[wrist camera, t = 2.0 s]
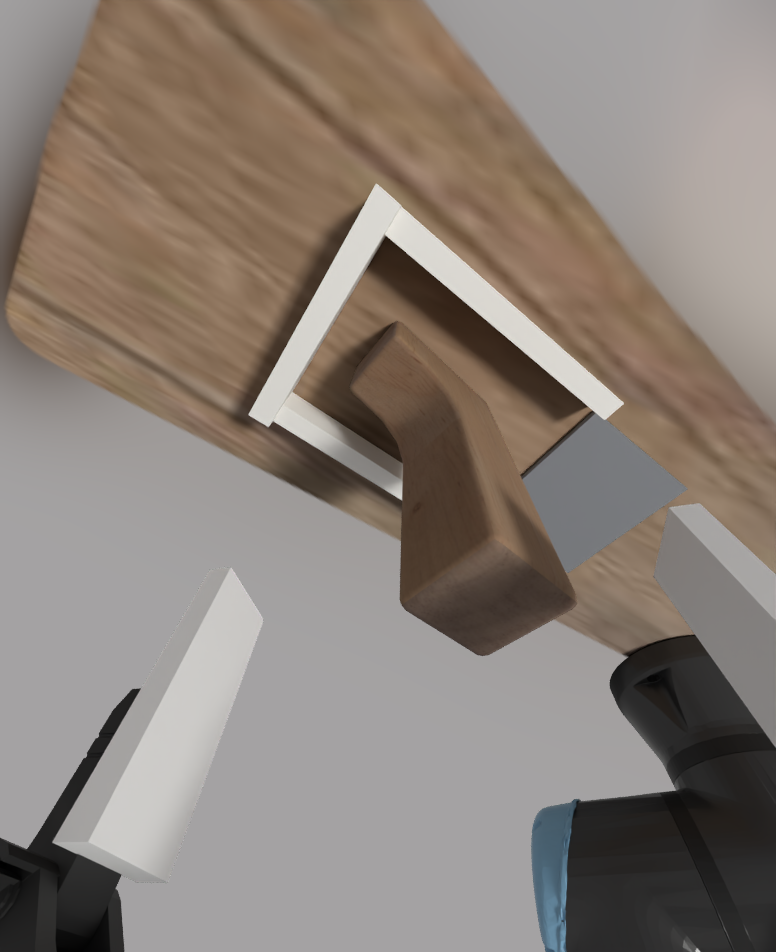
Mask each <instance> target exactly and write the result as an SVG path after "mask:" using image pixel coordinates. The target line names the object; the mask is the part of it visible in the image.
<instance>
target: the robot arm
mask: <svg viewBox="0 0 776 952" xmlns="http://www.w3.org/2000/svg"><path fill="white" fill-rule="evenodd" d="M654 578H655V579H656V581H657V582H658V583H659V585H660V586H661V588H662V589H663V590H664V592H665V593H666V595H667V596H668V597H669V599H670V600H671V602H672V603H673V604H674V606H675V607H676V609H677V610H678V611H679V613H680V614H681V616H682V617H683V618H684V620H685V621H686V623H687V624H688V625H689V627H690V628H691V630H692V631H693V632H694V634H695V635H696V636H690V637H682V638H676V639H671V640H667V641H663V642H660V643H657V644H654V645H651V646H649V647H646V648H644V649H642V650H640V651H638V652H636V653H635V654H633V655H631V656H630V657H628V658H627V659H626V660H624V661H623V662H622V663H621V664H620V665H619V666H618V667H617V668H616V669H615V671H614V672H613V674H612V676H611V679H610V689H611V691H612V694H613V696H614V698H615V701H616V703H617V705H618V707H619V709H620V710H621V712H622V713H623V715H624V716H625V717H626V718H627V720H628V721H629V722H630V723H631V724H632V726H633V727H634V728H635V729H636V731H637V732H638V733H639V734H640V736H641V737H642V738H643V739H644V740H645V742H646V743H647V744H648V745H649V747H650V748H651V749H652V750H653V751H654V753H655V754H656V755H657V756H658V758H659V759H660V760H661V761H662V763H663V765H664V767H665V769H666V771H667V772H668V775H669V777H670V779H671V781H672V783H673V785H674V787H675V789H676V791H669V792H661V793H651V794H643V795H636V796H628V797H618V798H609V799H599V800H591V801H581V800H579V799H574V800H573V801H572V802H571V803H566V804H560V805H555V806H550V807H546V808H543V809H542V810H541V811H539V813H538V814H537V816H536V818H535V820H534V824H533V829H532V843H531V852H532V871H533V883H534V892H535V900H536V907H537V914H538V921H539V927H540V932H541V937H542V941H543V943H544V945H545V951H546V952H776V574H775V573H774V572H772V571H771V570H770V569H769V568H768V567H767V566H766V565H765V564H764V563H763V562H762V561H761V560H760V559H759V558H757V557H756V556H755V555H754V554H753V553H752V552H751V551H750V550H749V549H748V548H747V547H746V546H745V545H744V544H742V543H741V542H740V541H739V540H738V539H737V538H736V537H735V536H734V535H733V534H732V533H731V532H730V531H729V530H727V529H726V528H725V527H724V526H723V525H722V524H721V523H720V522H719V521H718V520H717V519H716V518H715V517H714V516H712V515H711V514H710V513H709V512H708V511H707V510H706V509H705V508H704V507H703V506H702V505H701V504H700V503H698V504H691V505H683V506H676V507H669V508H668V513H667V517H666V522H665V527H664V531H663V536H662V540H661V545H660V549H659V554H658V559H657V563H656V568H655V572H654ZM262 623H263V618H262V616H261V615H260V613H259V612H258V610H257V608H256V607H255V605H254V604H253V602H252V600H251V598H250V597H249V595H248V594H247V592H246V590H245V589H244V587H243V586H242V584H241V582H240V581H239V579H238V577H237V576H236V574H235V573H234V571H233V569H232V568H231V567H227V568H219V569H212V570H209V572H208V574H207V576H206V578H205V579H204V581H203V583H202V584H201V586H200V588H199V589H198V591H197V593H196V594H195V596H194V598H193V600H192V602H191V603H190V605H189V607H188V608H187V610H186V612H185V614H184V615H183V617H182V619H181V621H180V622H179V624H178V626H177V627H176V629H175V631H174V632H173V634H172V636H171V638H170V640H169V641H168V643H167V645H166V646H165V648H164V650H163V652H162V653H161V655H160V657H159V659H158V660H157V662H156V664H155V665H154V667H153V669H152V671H151V672H150V674H149V676H148V678H147V679H146V681H145V683H144V685H143V686H142V688H141V689H132V690H131V691H130V692H129V693H128V694H127V696H126V697H125V698H124V699H123V700H122V701H121V702H120V703H119V704H118V705H117V706H116V708H115V709H114V710H113V711H112V713H111V715H110V716H109V718H108V720H107V721H106V723H105V724H104V726H103V728H102V729H101V731H100V733H99V737H98V738H96V739H95V741H94V742H93V744H92V746H91V747H90V749H89V751H88V752H87V757H86V758H84V759H83V760H82V762H81V764H80V765H79V767H78V769H77V770H76V772H75V773H74V775H73V777H72V779H71V780H70V782H69V783H68V785H67V787H66V788H65V790H64V792H63V793H62V795H61V796H60V798H59V800H58V801H57V803H56V805H55V806H54V808H53V810H52V811H51V813H50V814H49V816H48V818H47V819H46V821H45V823H44V824H43V826H42V828H41V829H40V831H39V832H38V834H37V835H36V837H35V839H34V840H33V842H32V843H31V845H30V846H29V847H28V849H25V848H22V847H20V846H18V845H15V844H13V843H11V842H9V841H6V840H4V839H1V838H0V952H124V941H123V927H122V913H121V900H120V897H119V894H118V891H117V890H116V889H115V888H116V886H117V884H118V882H119V879H120V877H121V875H122V876H124V877H126V878H128V879H130V880H133V881H135V882H137V883H139V882H140V883H144V882H145V883H146V882H147V883H148V882H149V883H154V882H156V883H159V882H160V883H166V882H168V880H169V878H170V875H171V872H172V870H173V866H174V864H175V861H176V859H177V856H178V853H179V850H180V847H181V845H182V842H183V839H184V837H185V834H186V831H187V829H188V826H189V823H190V820H191V818H192V815H193V812H194V809H195V807H196V804H197V801H198V798H199V795H200V793H201V790H202V788H203V785H204V782H205V779H206V777H207V774H208V771H209V768H210V766H211V763H212V760H213V757H214V754H215V752H216V749H217V746H218V744H219V741H220V738H221V735H222V733H223V730H224V727H225V725H226V722H227V719H228V716H229V714H230V710H231V708H232V705H233V703H234V700H235V697H236V694H237V691H238V689H239V686H240V684H241V681H242V678H243V675H244V673H245V670H246V667H247V664H248V662H249V659H250V656H251V653H252V650H253V648H254V645H255V642H256V640H257V637H258V634H259V631H260V629H261V626H262Z"/></svg>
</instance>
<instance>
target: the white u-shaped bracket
mask: <svg viewBox="0 0 776 952" xmlns="http://www.w3.org/2000/svg"><path fill="white" fill-rule="evenodd" d="M386 236H387V237H388V238H389V239H391V240H392V241H393V242H394V243H395V244H396V245H398V246H399V247H400V248H401V249H402V250H404V251H405V252H406V253H407V254H408V255H409V256H411V257H412V258H413V259H414V260H415V261H417V262H418V263H419V264H420V265H421V266H423V267H424V268H425V269H426V270H427V271H428V272H430V273H431V274H432V275H433V276H434V277H436V278H437V279H438V280H439V281H440V282H441V283H443V284H444V285H445V286H446V287H447V288H449V289H450V290H451V291H452V292H453V293H454V294H456V295H457V296H458V297H459V298H460V299H462V300H463V301H464V302H465V303H466V304H467V305H469V306H470V307H471V308H472V309H473V310H475V311H476V312H477V313H478V314H479V315H481V316H482V317H483V318H484V319H485V320H486V321H488V322H489V323H490V324H491V325H492V326H494V327H495V328H496V329H497V330H498V331H499V332H501V333H502V334H503V335H504V336H505V337H507V338H508V339H509V340H510V341H511V342H512V343H514V344H515V345H516V346H517V347H518V348H520V349H521V350H522V351H523V352H524V353H525V354H527V355H528V356H529V357H530V358H531V359H533V360H534V361H535V362H536V363H537V364H539V365H540V366H541V367H542V368H543V369H544V370H546V371H547V372H548V373H549V374H550V375H552V376H553V377H554V378H555V379H556V380H557V381H559V382H560V383H561V384H562V385H563V386H565V387H566V388H567V389H568V390H569V391H570V392H572V393H573V394H574V395H575V396H576V397H578V398H579V399H580V400H581V401H582V402H583V403H585V404H586V405H587V406H588V407H589V408H591V409H592V410H593V411H594V412H595V413H597V414H598V415H599V416H600V417H601V418H602V419H604V420H606V419H607V418H608V417H609V416H610V415H611V414H612V413H614V412H615V411H616V410H617V409H618V408H619V407H620V406H622V405H623V404H624V403H623V402H622V401H621V400H620V399H619V398H618V397H616V396H615V395H614V394H613V393H612V392H611V391H610V390H609V389H607V388H606V387H605V386H604V385H603V384H602V383H601V382H599V381H598V380H597V379H596V378H595V377H594V376H593V375H592V374H590V373H589V372H588V371H587V370H586V369H585V368H584V367H582V366H581V365H580V364H579V363H578V362H577V361H576V360H575V359H573V358H572V357H571V356H570V355H569V354H568V353H567V352H565V351H564V350H563V349H562V348H561V347H560V346H559V345H558V344H556V343H555V342H554V341H553V340H552V339H551V338H550V337H548V336H547V335H546V334H545V333H544V332H543V331H542V330H541V329H539V328H538V327H537V326H536V325H535V324H534V323H533V322H532V321H530V320H529V319H528V318H527V317H526V316H525V315H524V314H522V313H521V312H520V311H519V310H518V309H517V308H516V307H515V306H513V305H512V304H511V303H510V302H509V301H508V300H507V299H505V298H504V297H503V296H502V295H501V294H500V293H499V292H498V291H496V290H495V289H494V288H493V287H492V286H491V285H490V284H488V283H487V282H486V281H485V280H484V279H483V278H482V277H481V276H479V275H478V274H477V273H476V272H475V271H474V270H473V269H471V268H470V267H469V266H468V265H467V264H466V263H465V262H464V261H462V260H461V259H460V258H459V257H458V256H457V255H456V254H455V253H453V252H452V251H451V250H450V249H449V248H448V247H447V246H445V245H444V244H443V243H442V242H441V241H440V240H439V239H438V238H436V237H435V236H434V235H433V234H432V233H431V232H430V231H428V230H427V229H426V228H425V227H424V226H423V225H422V224H421V223H419V222H418V221H417V220H416V219H415V218H414V217H413V216H411V215H410V214H409V213H408V212H407V211H406V210H405V209H404V208H402V207H401V205H400V204H399V203H398V202H397V201H396V200H395V199H393V198H392V197H391V196H390V195H389V194H388V193H387V192H386V191H384V190H383V189H382V188H381V187H380V186H379V185H378V184H376V185H375V187H374V188H373V190H372V192H371V194H370V196H369V197H368V199H367V201H366V203H365V205H364V206H363V208H362V210H361V212H360V214H359V216H358V217H357V219H356V221H355V223H354V225H353V226H352V228H351V230H350V232H349V234H348V235H347V237H346V239H345V241H344V243H343V244H342V246H341V248H340V250H339V252H338V253H337V255H336V257H335V259H334V261H333V263H332V264H331V266H330V268H329V270H328V272H327V273H326V275H325V277H324V279H323V281H322V282H321V284H320V286H319V288H318V290H317V291H316V293H315V295H314V297H313V299H312V301H311V302H310V304H309V306H308V308H307V310H306V311H305V313H304V315H303V317H302V319H301V320H300V322H299V324H298V326H297V328H296V329H295V331H294V333H293V335H292V337H291V339H290V340H289V342H288V344H287V346H286V348H285V349H284V351H283V353H282V355H281V357H280V358H279V360H278V362H277V364H276V366H275V367H274V369H273V371H272V373H271V375H270V376H269V378H268V380H267V382H266V384H265V386H264V387H263V389H262V391H261V393H260V395H259V396H258V398H257V400H256V402H255V404H254V405H253V407H252V409H251V411H250V413H249V414H248V415H249V416H251V417H253V418H254V419H256V420H258V421H259V422H261V423H262V424H264V425H266V426H267V427H269V426H270V425H271V423H272V422H273V421H274V422H275V423H277V424H279V425H280V426H282V427H283V428H285V429H287V430H288V431H290V432H292V433H293V434H295V435H296V436H298V437H300V438H301V439H303V440H305V441H306V442H308V443H309V444H311V445H313V446H314V447H316V448H318V449H319V450H321V451H322V452H324V453H326V454H327V455H329V456H331V457H332V458H334V459H335V460H337V461H339V462H340V463H342V464H344V465H345V466H347V467H348V468H350V469H352V470H353V471H355V472H357V473H358V474H360V475H361V476H363V477H365V478H366V479H368V480H370V481H371V482H373V483H374V484H376V485H378V486H379V487H381V488H383V489H384V490H386V491H387V492H389V493H391V494H392V495H394V496H396V497H397V498H399V499H400V500H402V484H403V464H402V463H401V462H399V461H398V460H396V459H395V458H393V457H392V456H390V455H389V454H387V453H385V452H384V451H382V450H381V449H379V448H378V447H376V446H375V445H373V444H372V443H370V442H368V441H367V440H365V439H364V438H362V437H361V436H359V435H358V434H356V433H355V432H353V431H352V430H350V429H348V428H347V427H345V426H344V425H342V424H341V423H339V422H338V421H336V420H335V419H333V418H332V417H330V416H328V415H327V414H325V413H324V412H322V411H321V410H319V409H318V408H316V407H315V406H313V405H312V404H310V403H308V402H307V401H305V400H304V399H302V398H301V397H299V396H298V395H296V394H295V393H293V390H294V388H295V387H296V385H297V384H298V382H299V380H300V379H301V377H302V375H303V374H304V372H305V370H306V369H307V367H308V365H309V364H310V362H311V360H312V359H313V357H314V355H315V354H316V352H317V350H318V349H319V347H320V345H321V344H322V342H323V340H324V339H325V337H326V335H327V334H328V332H329V330H330V329H331V327H332V325H333V324H334V322H335V320H336V319H337V317H338V315H339V314H340V312H341V310H342V309H343V307H344V305H345V304H346V302H347V300H348V299H349V297H350V295H351V294H352V292H353V290H354V289H355V287H356V285H357V284H358V282H359V280H360V279H361V277H362V275H363V274H364V272H365V270H366V269H367V267H368V265H369V264H370V262H371V261H372V259H373V257H374V256H375V254H376V252H377V251H378V249H379V247H380V246H381V244H382V242H383V241H384V239H385V237H386Z"/></svg>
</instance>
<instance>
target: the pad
mask: <svg viewBox="0 0 776 952" xmlns="http://www.w3.org/2000/svg"><path fill="white" fill-rule="evenodd" d="M521 478H522V480H523V482H524V484H525V487H526V489H527V491H528V493H529V495H530V497H531V499H532V502H533V504H534V506H535V508H536V510H537V512H538V514H539V517H540V519H541V521H542V523H543V525H544V527H545V529H546V532H547V534H548V536H549V538H550V540H551V542H552V544H553V546H554V549H555V551H556V553H557V555H558V557H559V559H560V561H561V564H562V566H563V568H564V570H565V571H566V572H567V573H569V572H570V571H571V570H573V569H574V568H576V567H577V566H579V565H580V564H582V563H583V562H584V561H586V560H587V559H589V558H590V557H592V556H593V555H594V554H596V553H597V552H599V551H600V550H602V549H603V548H604V547H606V546H607V545H609V544H610V543H612V542H613V541H614V540H616V539H617V538H619V537H620V536H622V535H623V534H624V533H626V532H627V531H629V530H630V529H632V528H633V527H634V526H636V525H637V524H639V523H640V522H642V521H643V520H644V519H646V518H647V517H649V516H650V515H652V514H653V513H654V512H656V511H657V510H659V509H660V508H662V507H663V506H664V505H666V504H667V503H669V502H670V501H672V500H673V499H674V498H676V497H677V496H679V495H680V494H682V493H683V492H684V491H686V490H687V488H686V487H685V486H684V485H683V484H681V483H680V482H679V481H678V480H677V479H676V478H674V477H673V476H672V475H671V474H670V473H668V472H667V471H666V470H665V469H664V468H663V467H661V466H660V465H659V464H658V463H657V462H656V461H654V460H653V459H652V458H651V457H650V456H648V455H647V454H646V453H645V452H644V451H643V450H641V449H640V448H639V447H638V446H637V445H635V444H634V443H633V442H632V441H631V440H630V439H628V438H627V437H626V436H625V435H624V434H622V433H621V432H620V431H619V430H618V429H617V428H615V427H614V426H613V425H612V424H611V423H609V422H608V421H607V420H604V419H602V418H601V417H600V416H599V415H598V414H597V413H595V412H594V411H593V412H592V413H591V414H590V415H589V416H587V417H586V418H585V419H584V420H583V421H582V422H581V423H580V424H579V425H578V426H576V427H575V428H574V429H573V430H572V431H571V432H570V433H569V434H568V435H567V436H565V437H564V438H563V439H562V440H561V441H560V442H559V443H558V444H557V445H555V446H554V447H553V448H552V449H551V450H550V451H549V452H548V453H547V454H546V455H544V456H543V457H542V458H541V459H540V460H539V461H538V462H537V463H536V464H535V465H533V466H532V467H531V468H530V469H529V470H528V471H527V472H526V473H525V474H524V475H522V476H521Z"/></svg>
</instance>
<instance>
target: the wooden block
mask: <svg viewBox="0 0 776 952" xmlns="http://www.w3.org/2000/svg"><path fill="white" fill-rule="evenodd" d="M349 388H350V390H351V392H352V393H353V394H354V395H355V396H356V397H357V398H358V399H359V400H360V401H361V402H363V403H364V404H365V405H366V406H367V407H368V408H369V409H370V410H371V411H372V412H373V413H374V414H376V415H377V416H378V417H379V418H380V419H381V420H382V421H383V423H384V424H385V426H386V427H387V429H388V430H389V432H390V433H391V435H392V436H393V438H394V439H395V440H396V442H397V444H398V448H399V451H400V455H401V458H402V462H403V484H402V526H401V569H400V570H401V571H400V602H401V604H402V606H403V607H404V609H405V610H406V611H408V612H409V613H411V614H413V615H414V616H416V617H417V618H419V619H421V620H422V621H424V622H425V623H427V624H429V625H430V626H432V627H433V628H435V629H437V630H438V631H440V632H442V633H443V634H445V635H446V636H448V637H449V638H451V639H453V640H454V641H456V642H457V643H459V644H461V645H462V646H464V647H466V648H467V649H469V650H470V651H472V652H474V653H475V654H477V655H481V656H485V655H489V654H491V653H493V652H495V651H496V650H499V649H501V648H502V647H504V646H506V645H508V644H510V643H511V642H513V641H515V640H517V639H519V638H521V637H522V636H524V635H526V634H528V633H530V632H531V631H533V630H535V629H537V628H539V627H541V626H542V625H544V624H546V623H548V622H550V621H552V620H553V619H555V618H557V617H559V616H561V615H563V614H564V613H566V612H568V611H570V610H572V609H573V608H574V607H575V606H576V604H577V597H576V594H575V591H574V589H573V587H572V585H571V583H570V581H569V579H568V576H567V574H566V572H565V570H564V568H563V566H562V564H561V561H560V559H559V557H558V555H557V553H556V551H555V549H554V546H553V544H552V542H551V540H550V538H549V536H548V534H547V532H546V529H545V527H544V525H543V523H542V521H541V519H540V517H539V514H538V512H537V510H536V508H535V506H534V504H533V502H532V499H531V497H530V495H529V493H528V491H527V489H526V487H525V484H524V482H523V480H522V478H521V476H520V474H519V472H518V470H517V467H516V465H515V463H514V461H513V459H512V457H511V454H510V452H509V450H508V448H507V446H506V443H505V441H504V439H503V437H502V435H501V433H500V430H499V428H498V426H497V424H496V422H495V420H494V418H493V416H492V414H491V412H490V410H489V407H488V405H487V403H486V402H485V401H484V400H483V399H482V398H481V397H480V396H479V395H477V394H476V393H475V392H474V391H473V390H472V389H471V388H470V387H469V386H468V385H467V384H466V383H465V382H464V381H463V380H462V379H461V378H460V377H458V376H457V375H456V374H455V373H454V372H453V371H452V370H451V369H450V368H449V367H448V366H447V365H446V364H445V363H444V362H443V361H442V360H441V359H439V358H438V357H437V356H436V355H435V354H434V353H433V352H432V351H431V350H430V349H429V348H428V347H427V346H426V345H425V344H424V343H423V342H422V341H420V340H419V339H418V338H417V337H416V336H415V335H414V334H413V333H412V332H411V331H410V330H409V329H408V328H407V327H406V326H405V325H404V324H403V323H401V322H398V321H396V322H394V323H393V324H392V325H391V326H390V327H389V329H388V330H387V331H386V332H385V333H384V335H383V336H382V337H381V338H380V339H379V341H378V342H377V343H376V344H375V345H374V347H373V348H372V349H371V350H370V351H369V353H368V354H367V355H366V356H365V357H364V359H363V360H362V361H361V362H360V363H359V365H358V366H357V368H356V371H355V373H354V376H353V378H352V381H351V383H350V387H349Z"/></svg>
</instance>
